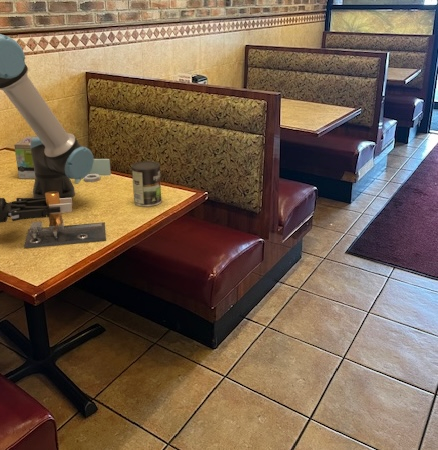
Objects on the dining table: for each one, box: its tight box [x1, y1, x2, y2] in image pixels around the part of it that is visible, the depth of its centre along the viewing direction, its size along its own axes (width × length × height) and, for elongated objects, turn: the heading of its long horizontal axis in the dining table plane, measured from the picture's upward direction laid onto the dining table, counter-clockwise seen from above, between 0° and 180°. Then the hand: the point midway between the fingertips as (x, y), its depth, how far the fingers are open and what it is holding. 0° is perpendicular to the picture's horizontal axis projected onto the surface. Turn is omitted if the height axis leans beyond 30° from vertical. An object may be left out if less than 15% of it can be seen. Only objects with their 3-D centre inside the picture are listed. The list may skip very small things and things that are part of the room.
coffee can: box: [130, 160, 163, 208], centre depth 182 cm, size 10×10×14 cm
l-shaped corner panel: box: [74, 158, 112, 185], centre depth 206 cm, size 12×12×8 cm
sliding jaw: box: [45, 191, 65, 239], centre depth 154 cm, size 9×4×12 cm, turn 13°
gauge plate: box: [23, 221, 107, 249], centre depth 157 cm, size 12×24×4 cm, turn 103°
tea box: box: [13, 135, 37, 180], centre depth 211 cm, size 15×10×15 cm
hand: (71, 204), depth 156 cm, fingers closed on sliding jaw, 4 cm apart
